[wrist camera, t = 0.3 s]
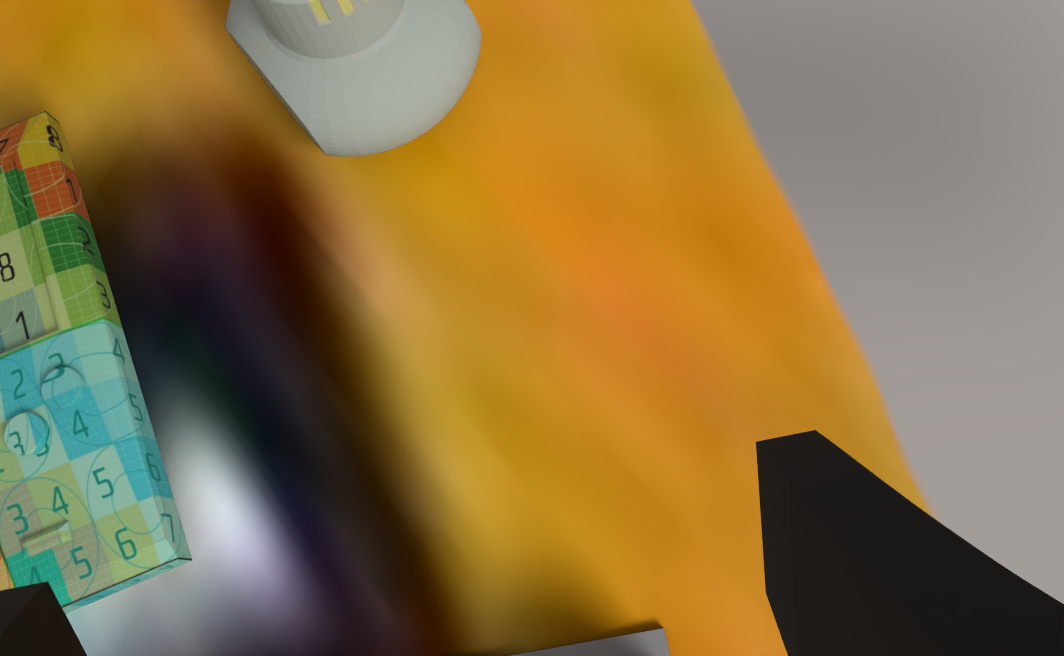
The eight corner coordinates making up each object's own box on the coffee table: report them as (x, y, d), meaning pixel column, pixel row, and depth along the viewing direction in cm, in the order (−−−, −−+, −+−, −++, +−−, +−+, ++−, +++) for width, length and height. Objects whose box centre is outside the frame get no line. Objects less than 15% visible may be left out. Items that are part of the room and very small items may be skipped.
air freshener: (232, 43, 47) (129, -102, 37) (374, -61, 48) (309, -229, 38) (367, 210, 44) (294, 100, 34) (516, 96, 45) (485, -42, 35)
